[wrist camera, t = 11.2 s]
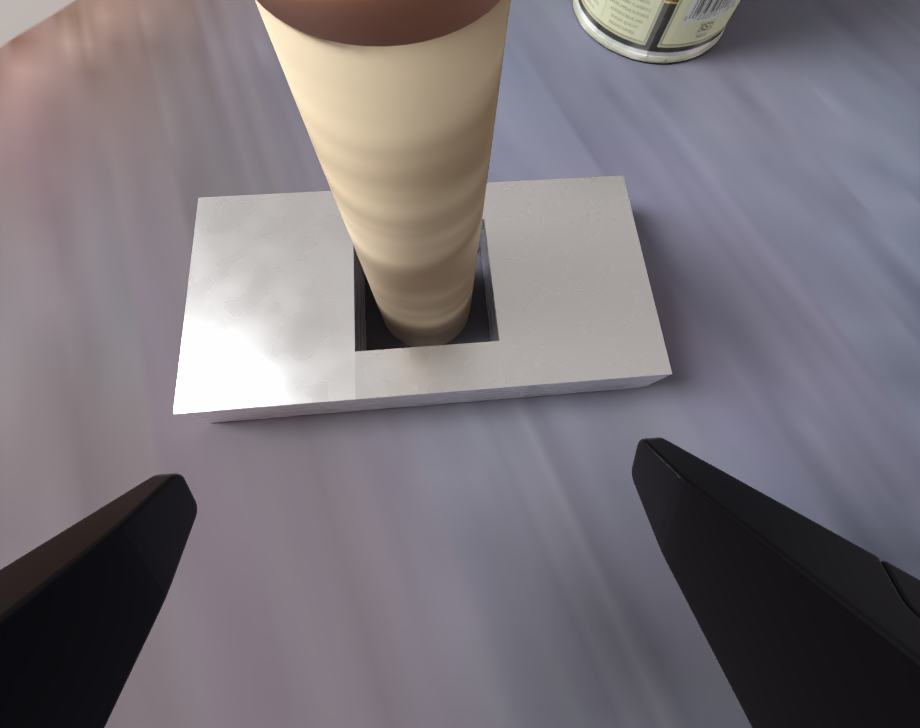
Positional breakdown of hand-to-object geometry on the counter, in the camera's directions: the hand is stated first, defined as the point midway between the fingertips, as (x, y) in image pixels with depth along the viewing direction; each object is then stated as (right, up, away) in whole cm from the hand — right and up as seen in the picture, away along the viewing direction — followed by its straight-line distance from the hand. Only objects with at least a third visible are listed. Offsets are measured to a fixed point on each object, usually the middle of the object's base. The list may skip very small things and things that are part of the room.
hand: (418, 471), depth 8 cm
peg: (-1, +5, +12) cm, 13 cm away
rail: (-1, +5, +12) cm, 13 cm away
